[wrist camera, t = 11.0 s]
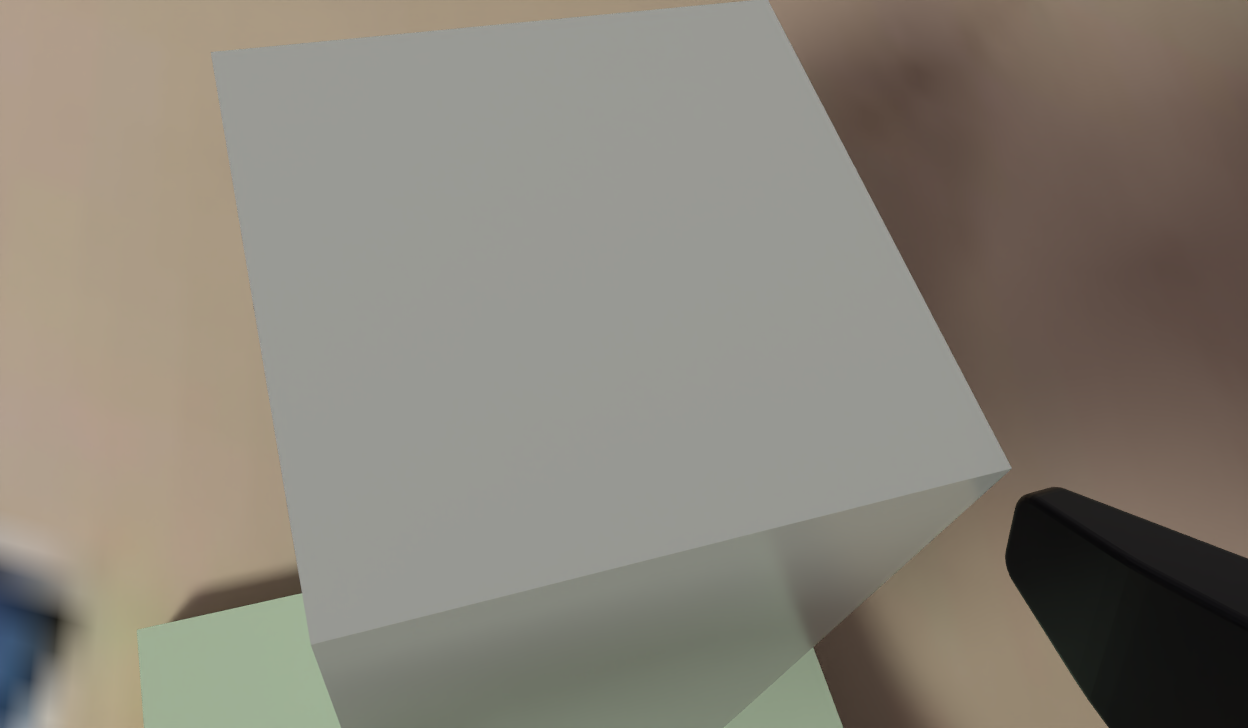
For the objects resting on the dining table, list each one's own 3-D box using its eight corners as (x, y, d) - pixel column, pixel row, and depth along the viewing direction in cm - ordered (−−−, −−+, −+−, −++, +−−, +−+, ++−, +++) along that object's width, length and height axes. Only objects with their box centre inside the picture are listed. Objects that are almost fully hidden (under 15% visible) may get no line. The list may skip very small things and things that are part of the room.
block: (672, 774, 19) (1011, 467, 8) (390, 862, 17) (311, 644, 6) (592, 519, 21) (766, -1, 10) (338, 579, 20) (210, 51, 8)
